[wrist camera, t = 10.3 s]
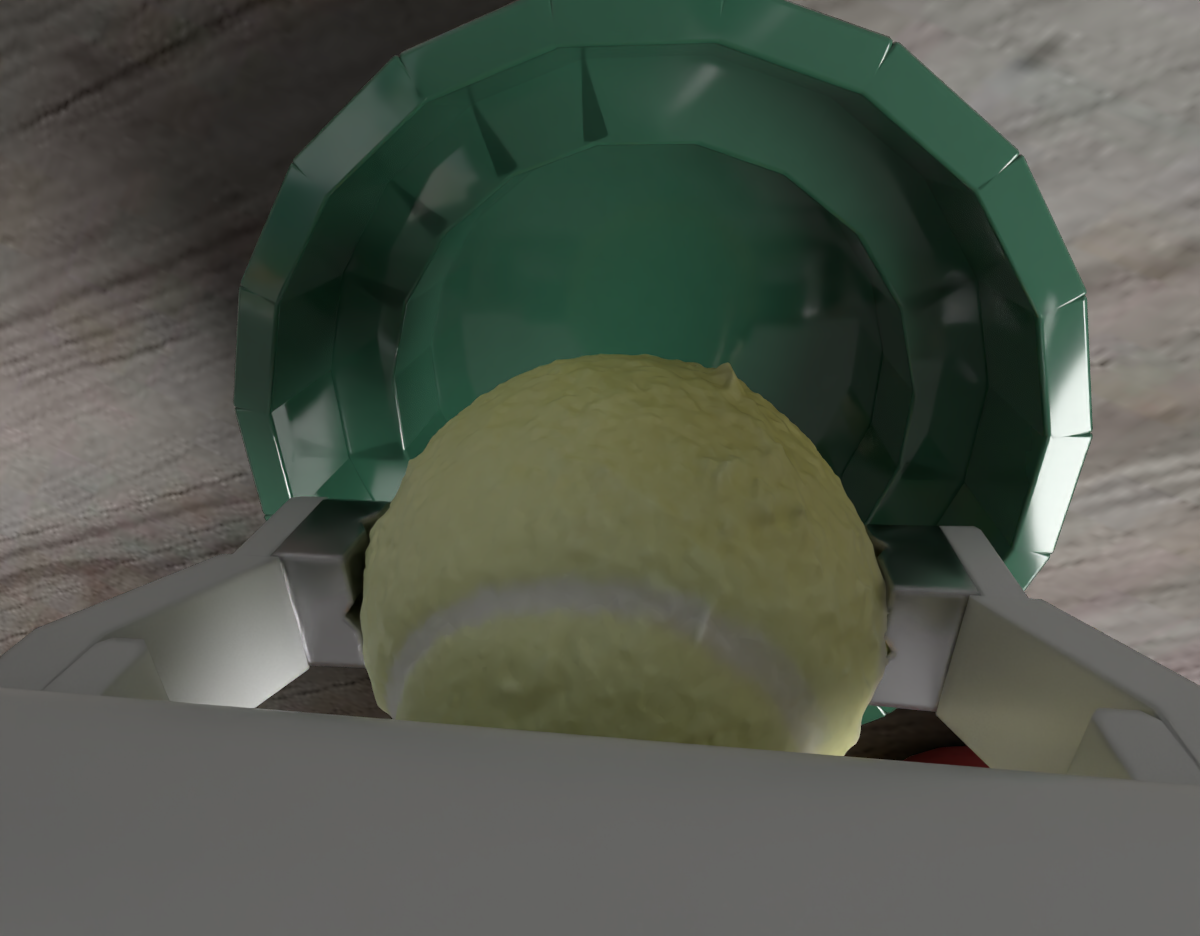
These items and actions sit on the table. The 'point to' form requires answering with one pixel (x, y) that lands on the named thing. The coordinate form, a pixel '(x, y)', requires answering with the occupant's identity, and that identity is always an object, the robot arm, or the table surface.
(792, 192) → the bowl
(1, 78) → the table surface
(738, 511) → the tennis ball
